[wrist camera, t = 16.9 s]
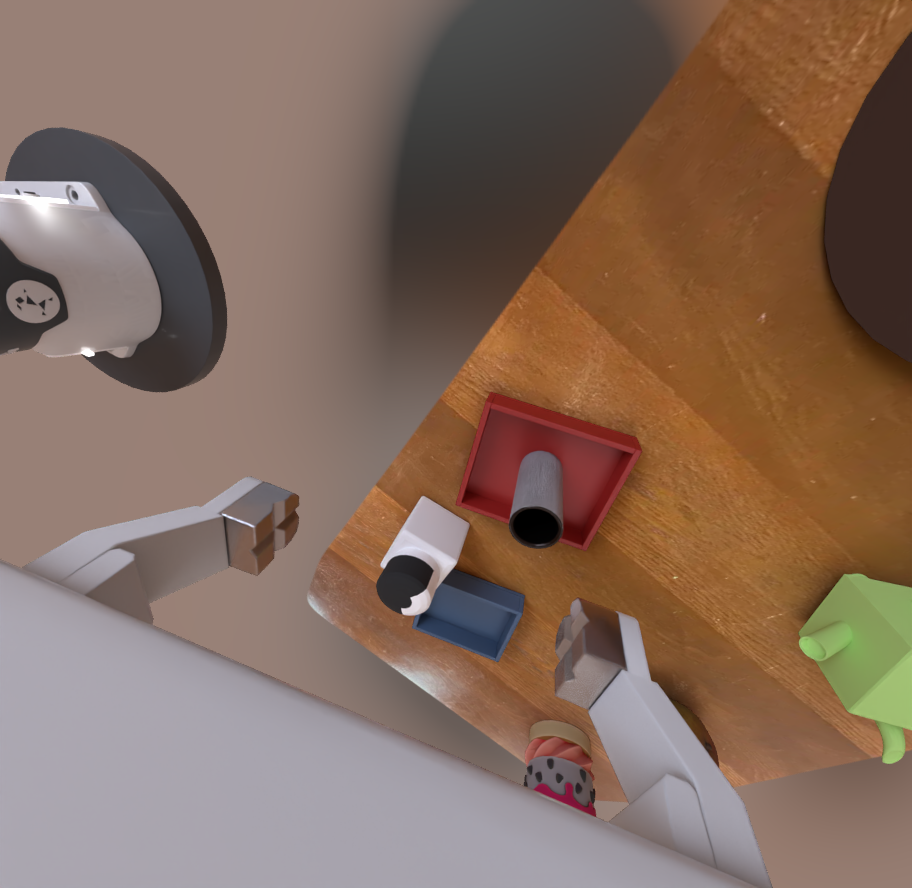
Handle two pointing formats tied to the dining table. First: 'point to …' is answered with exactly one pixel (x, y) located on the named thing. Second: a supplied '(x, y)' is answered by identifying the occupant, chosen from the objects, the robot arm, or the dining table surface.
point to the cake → (560, 764)
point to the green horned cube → (867, 653)
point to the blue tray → (472, 614)
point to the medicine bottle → (421, 557)
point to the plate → (876, 211)
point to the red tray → (571, 440)
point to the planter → (538, 501)
